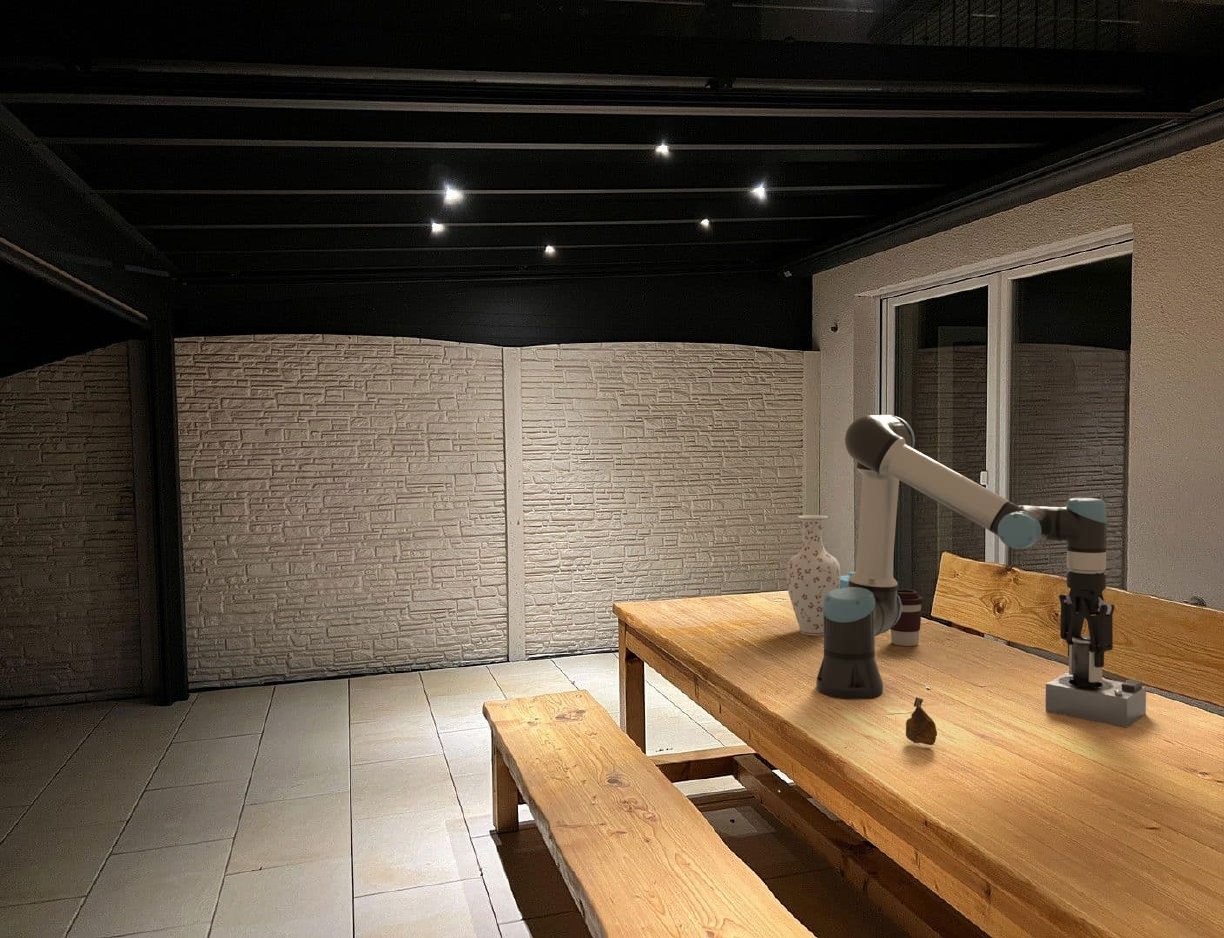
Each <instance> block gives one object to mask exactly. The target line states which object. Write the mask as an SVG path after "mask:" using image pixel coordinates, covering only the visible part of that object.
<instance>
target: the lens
mask: <svg viewBox="0 0 1224 938" xmlns="http://www.w3.org/2000/svg"><path fill="white" fill-rule="evenodd" d="M1072 641H1073V685H1076V686H1081V687H1091V688H1095V687H1099V682H1089V650H1092V645H1091V640H1090V635H1082V634H1081V635H1078V636H1073V637H1072ZM1098 646H1099V645H1098Z"/></svg>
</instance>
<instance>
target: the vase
mask: <svg viewBox="0 0 1224 938" xmlns="http://www.w3.org/2000/svg"><path fill="white" fill-rule="evenodd" d="M797 517H798V519H799V520H801V522H802V525H803V531H804V541H803V544H802V548H801V550H800V551H799V552H798V553H796V554H795V555H793V556H792V557H790V559H788V562H787V566H786V567H787V568H786V573H785V574H786V584H787V592H788V595H789V599H790V601H791V605H792V608H793V611H794V615H795V617H796V620H797V624H798V628H799V633H801V634H803V635H806V636H824V626H823V605H824V597H825V595H826V594H827V593H828V592H829V591H831V590H834V589H838V588H839V589H840V578H841V576H842V574H841V566H840V562H839V561H838V559H837V558H836V557H835V556H833V555H831V553H829V552H828V551H827V550H826V548H825V547H824V543H823V535H822V534H823V528H824V527H823V526H824V523H825V521H826V519H828V518H829V516H828V515H817V514H814V515H813V514H812V515H811V514H809V515H808V514H807V515H799V516H797Z"/></svg>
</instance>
